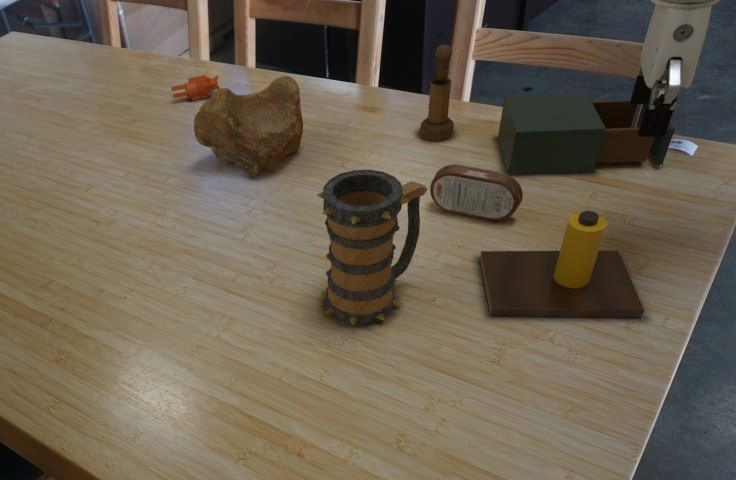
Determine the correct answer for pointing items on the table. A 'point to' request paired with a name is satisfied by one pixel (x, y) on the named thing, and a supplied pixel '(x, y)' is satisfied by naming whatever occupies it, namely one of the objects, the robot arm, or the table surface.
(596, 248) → the yellow bottle
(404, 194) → the mug
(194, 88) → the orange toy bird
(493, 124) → the table surface
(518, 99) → the cabinet
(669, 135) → the drawer
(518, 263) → the board
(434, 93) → the mortar and pestle
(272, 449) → the table surface
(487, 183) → the tin
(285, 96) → the rough brown rock
